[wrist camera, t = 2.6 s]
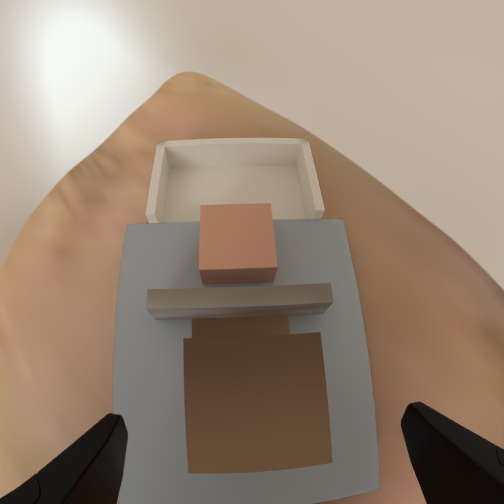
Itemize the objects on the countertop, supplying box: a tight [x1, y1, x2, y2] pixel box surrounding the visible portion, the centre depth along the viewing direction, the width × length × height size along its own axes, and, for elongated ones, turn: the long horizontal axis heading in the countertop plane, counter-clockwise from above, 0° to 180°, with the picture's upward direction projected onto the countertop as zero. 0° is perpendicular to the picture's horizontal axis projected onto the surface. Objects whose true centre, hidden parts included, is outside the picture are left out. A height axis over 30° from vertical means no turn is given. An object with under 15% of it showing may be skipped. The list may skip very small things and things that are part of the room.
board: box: [113, 219, 380, 504], centre depth 17 cm, size 17×14×2 cm
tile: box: [199, 203, 278, 284], centre depth 18 cm, size 4×4×2 cm
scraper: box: [146, 283, 334, 474], centre depth 11 cm, size 7×9×10 cm
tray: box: [145, 138, 325, 224], centre depth 22 cm, size 6×11×3 cm, turn 93°
